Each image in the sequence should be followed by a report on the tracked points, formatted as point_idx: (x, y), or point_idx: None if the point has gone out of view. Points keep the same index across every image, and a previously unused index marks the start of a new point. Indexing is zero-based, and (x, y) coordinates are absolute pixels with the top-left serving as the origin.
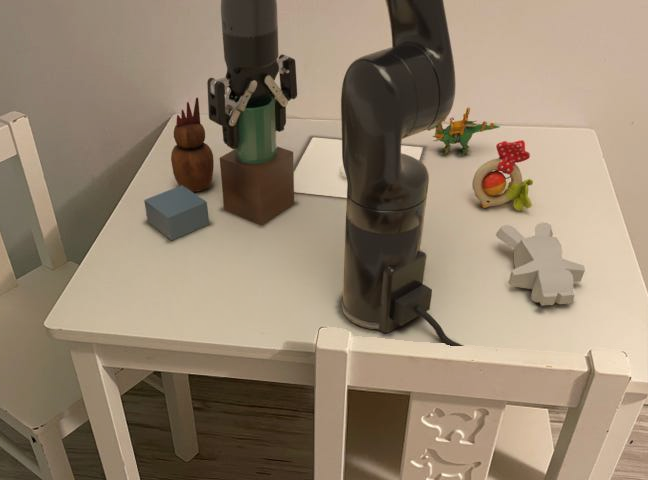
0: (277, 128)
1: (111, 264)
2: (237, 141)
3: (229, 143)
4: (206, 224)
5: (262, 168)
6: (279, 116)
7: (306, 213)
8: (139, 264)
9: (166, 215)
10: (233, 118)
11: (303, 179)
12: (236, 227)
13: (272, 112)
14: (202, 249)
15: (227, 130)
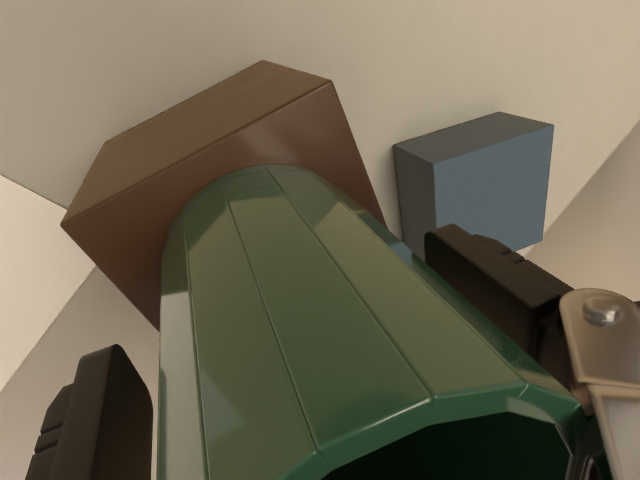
0: (127, 372)
1: (630, 79)
2: (454, 244)
3: (493, 241)
4: (402, 142)
5: (300, 112)
6: (104, 432)
7: (73, 56)
8: (598, 44)
9: (551, 139)
10: (615, 330)
11: (20, 282)
12: (337, 92)
13: (242, 385)
14: (464, 24)
15: (562, 285)
